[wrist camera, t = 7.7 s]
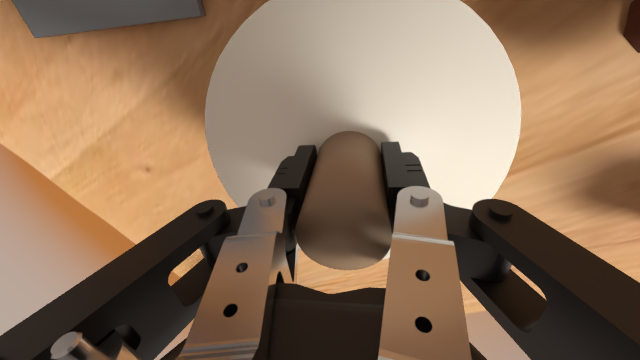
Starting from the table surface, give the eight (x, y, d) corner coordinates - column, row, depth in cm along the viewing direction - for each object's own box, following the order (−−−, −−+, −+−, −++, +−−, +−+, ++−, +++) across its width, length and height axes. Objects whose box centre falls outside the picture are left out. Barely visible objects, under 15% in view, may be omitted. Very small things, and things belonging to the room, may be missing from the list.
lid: (170, 3, 11) (-8, -3, 6) (559, -59, 8) (891, -174, 3) (254, 243, 18) (212, 336, 13) (471, 248, 16) (525, 364, 11)
